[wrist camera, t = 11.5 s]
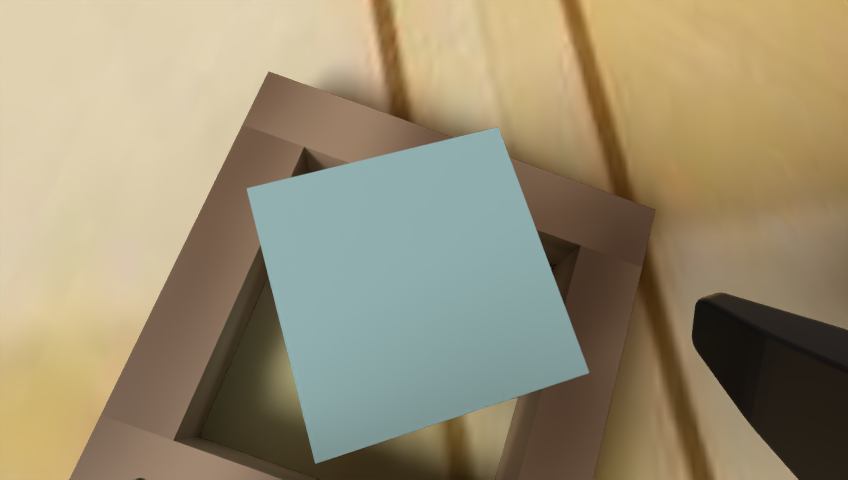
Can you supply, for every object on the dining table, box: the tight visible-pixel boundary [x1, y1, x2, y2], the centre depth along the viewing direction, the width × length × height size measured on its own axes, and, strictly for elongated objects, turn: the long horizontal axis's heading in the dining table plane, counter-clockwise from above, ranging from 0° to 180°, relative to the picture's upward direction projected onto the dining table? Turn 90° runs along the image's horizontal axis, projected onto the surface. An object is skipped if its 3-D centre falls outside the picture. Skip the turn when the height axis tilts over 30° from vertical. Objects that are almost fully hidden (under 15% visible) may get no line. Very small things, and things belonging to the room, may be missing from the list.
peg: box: [247, 127, 589, 464], centre depth 14 cm, size 4×4×10 cm
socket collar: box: [69, 72, 655, 480], centre depth 18 cm, size 13×13×2 cm
